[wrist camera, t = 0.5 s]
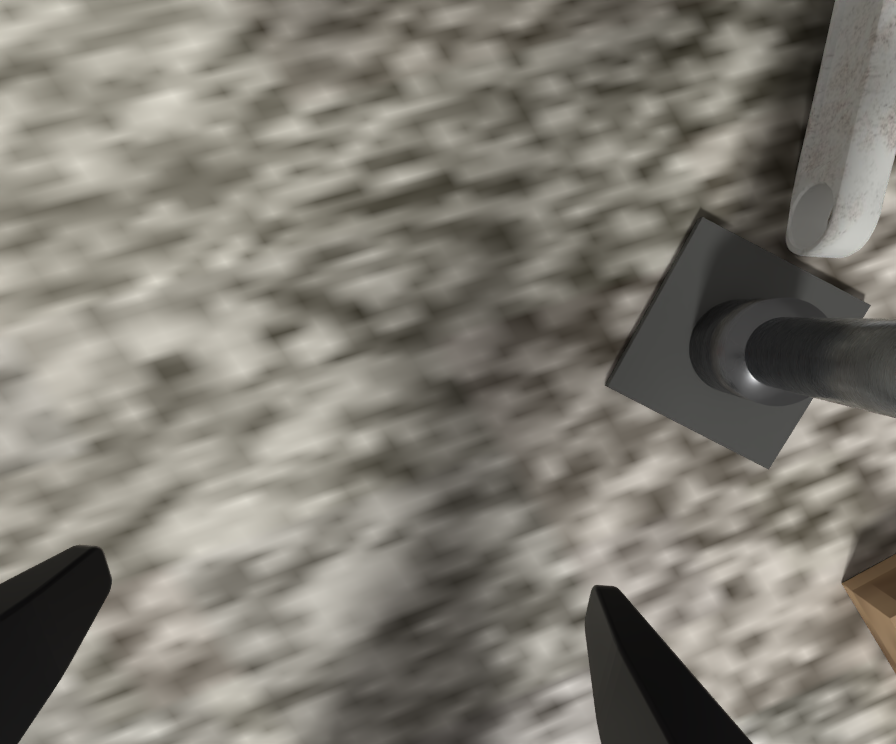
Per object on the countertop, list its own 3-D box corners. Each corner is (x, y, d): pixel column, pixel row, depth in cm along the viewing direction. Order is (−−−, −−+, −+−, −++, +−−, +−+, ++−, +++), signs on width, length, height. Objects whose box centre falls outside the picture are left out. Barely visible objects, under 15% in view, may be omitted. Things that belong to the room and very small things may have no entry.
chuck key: (807, 328, 21) (1352, 356, 8) (757, 411, 21) (1193, 561, 9) (715, 280, 21) (1119, 231, 8) (667, 365, 21) (973, 446, 8)
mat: (763, 466, 22) (768, 469, 22) (605, 385, 22) (607, 386, 22) (863, 305, 21) (870, 305, 21) (698, 219, 21) (702, 217, 21)
